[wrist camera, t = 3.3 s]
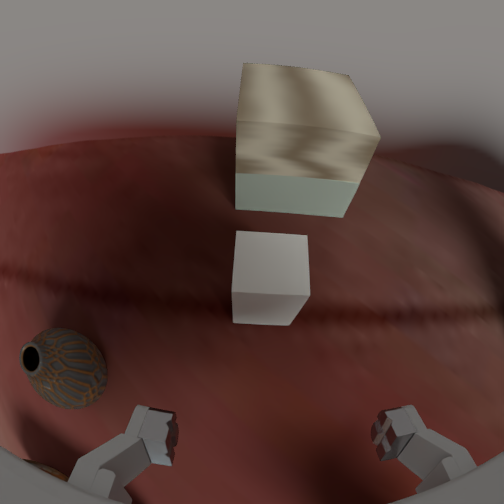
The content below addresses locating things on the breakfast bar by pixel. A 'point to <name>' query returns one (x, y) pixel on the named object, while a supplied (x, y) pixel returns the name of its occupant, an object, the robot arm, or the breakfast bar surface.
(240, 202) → the tower base
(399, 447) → the robot arm
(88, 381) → the vase
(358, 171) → the tower top
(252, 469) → the breakfast bar surface
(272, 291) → the offwhite block
